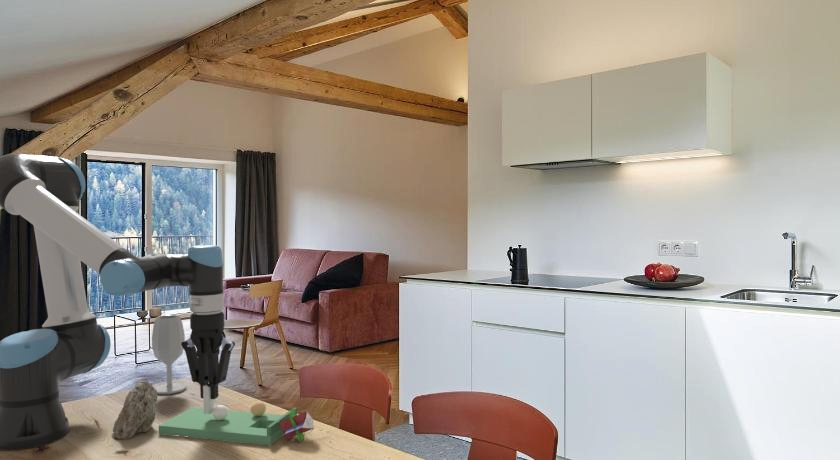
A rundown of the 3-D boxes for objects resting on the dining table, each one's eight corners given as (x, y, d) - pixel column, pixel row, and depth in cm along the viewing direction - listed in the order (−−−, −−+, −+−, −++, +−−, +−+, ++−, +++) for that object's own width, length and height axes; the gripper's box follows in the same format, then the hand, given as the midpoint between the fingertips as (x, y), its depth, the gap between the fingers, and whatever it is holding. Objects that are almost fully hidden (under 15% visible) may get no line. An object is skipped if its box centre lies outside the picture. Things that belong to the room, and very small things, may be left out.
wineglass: (145, 393, 171) (143, 318, 170) (167, 385, 179) (166, 313, 178) (171, 396, 168) (169, 320, 167) (192, 387, 176) (191, 314, 176)
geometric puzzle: (268, 435, 133) (290, 406, 133) (276, 424, 140) (297, 396, 140) (295, 455, 133) (317, 426, 133) (302, 443, 140) (322, 415, 140)
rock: (156, 412, 137) (118, 403, 135) (142, 451, 139) (105, 443, 137) (168, 381, 150) (134, 373, 148) (156, 418, 152) (122, 410, 150)
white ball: (213, 404, 142) (225, 413, 141) (222, 400, 145) (233, 408, 145) (207, 416, 143) (218, 425, 142) (215, 411, 146) (227, 420, 145)
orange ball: (247, 418, 145) (247, 403, 145) (255, 413, 148) (255, 398, 148) (261, 419, 144) (261, 404, 144) (268, 414, 147) (268, 399, 147)
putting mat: (158, 434, 140) (158, 416, 140) (193, 415, 153) (193, 399, 153) (270, 445, 133) (270, 427, 133) (297, 424, 146) (296, 407, 146)
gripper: (172, 313, 141) (175, 415, 142) (223, 315, 138) (225, 419, 139) (192, 308, 149) (195, 405, 150) (240, 309, 145) (243, 408, 146)
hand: (209, 412), depth 144 cm, fingers closed
